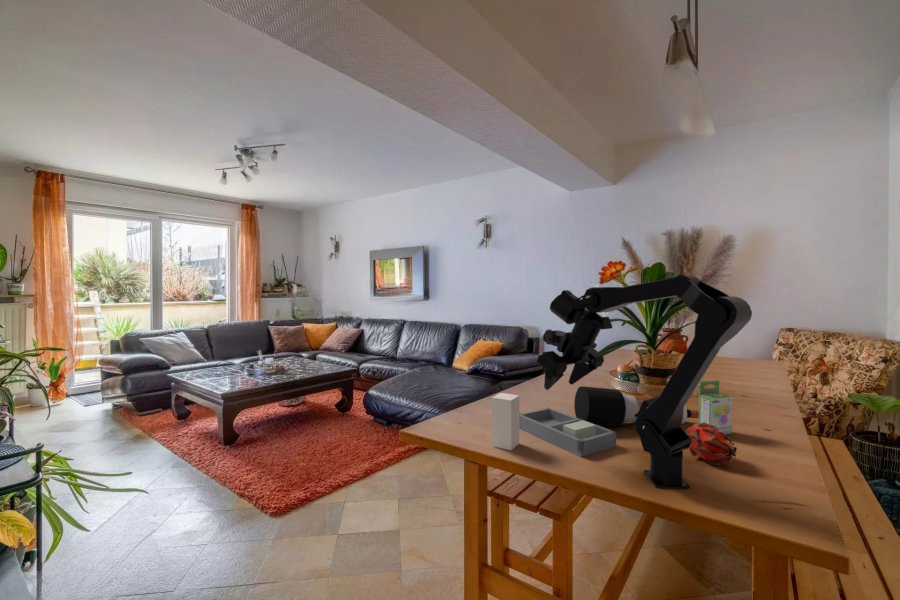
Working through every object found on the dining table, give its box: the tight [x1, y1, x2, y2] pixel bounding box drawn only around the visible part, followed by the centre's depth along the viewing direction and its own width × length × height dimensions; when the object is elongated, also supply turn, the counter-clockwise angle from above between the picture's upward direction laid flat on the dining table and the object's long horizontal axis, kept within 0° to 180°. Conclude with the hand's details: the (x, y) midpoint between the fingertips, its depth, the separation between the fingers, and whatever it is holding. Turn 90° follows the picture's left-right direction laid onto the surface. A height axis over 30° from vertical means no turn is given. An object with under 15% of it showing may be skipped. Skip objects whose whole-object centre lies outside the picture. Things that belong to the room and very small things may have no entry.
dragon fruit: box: [685, 422, 738, 466], centre depth 90 cm, size 8×8×12 cm
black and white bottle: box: [573, 385, 699, 427], centre depth 114 cm, size 10×34×10 cm, turn 91°
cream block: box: [491, 392, 520, 451], centre depth 100 cm, size 5×5×12 cm
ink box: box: [698, 379, 733, 435], centre depth 106 cm, size 7×4×13 cm, turn 105°
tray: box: [519, 407, 617, 458], centre depth 105 cm, size 23×12×4 cm, turn 30°
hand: (558, 386), depth 103 cm, fingers open, 9 cm apart
